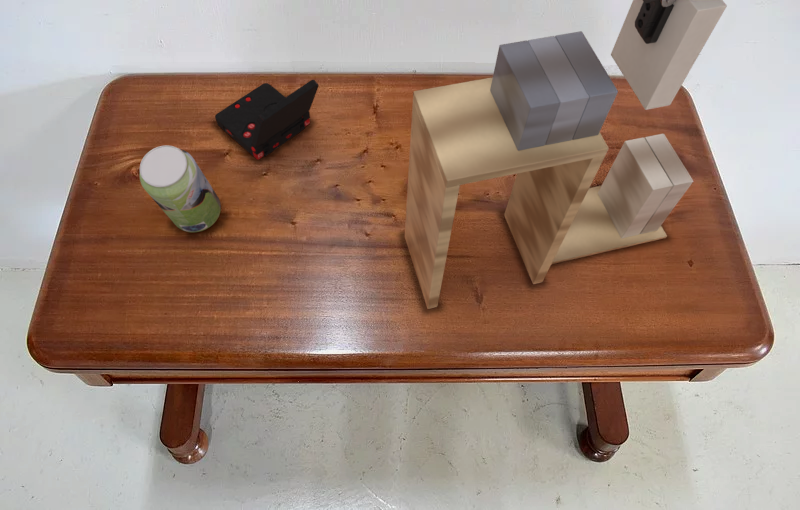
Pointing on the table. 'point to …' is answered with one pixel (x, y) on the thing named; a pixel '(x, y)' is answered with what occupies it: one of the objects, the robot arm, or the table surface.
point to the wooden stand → (509, 149)
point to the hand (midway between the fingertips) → (662, 33)
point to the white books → (628, 200)
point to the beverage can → (179, 188)
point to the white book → (665, 49)
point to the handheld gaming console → (267, 117)
